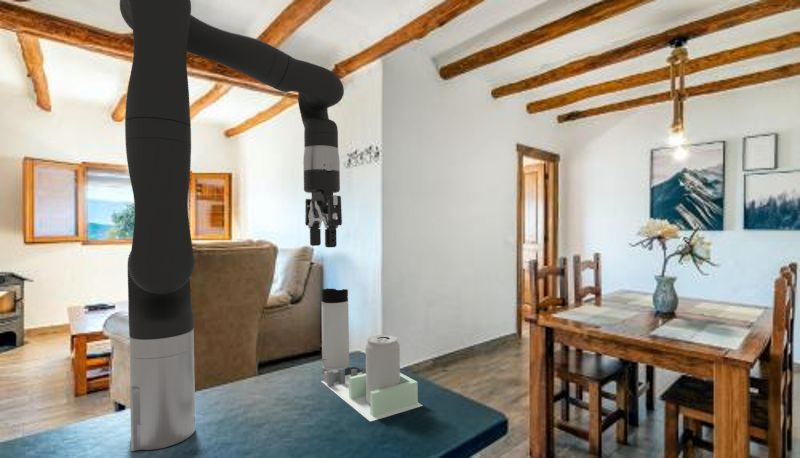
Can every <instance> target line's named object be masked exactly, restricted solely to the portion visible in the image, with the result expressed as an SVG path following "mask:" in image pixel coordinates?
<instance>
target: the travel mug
mask: <svg viewBox="0 0 800 458" xmlns="http://www.w3.org/2000/svg"><path fill="white" fill-rule="evenodd" d="M349 321H350V320H349V289H347V288H342V289H336V288H323V289H321V342H322V343H321V347H322V348H321V356H322V359H321V360H322V362H321V363H322V373H323V372H324V371H329V370H334V369H337V370H339V368H344V369H345V370H347V369H348V370H349V369H350V339H349V338H350V336H349V335H350V332H349V331H350V329H349V328H350V327H349V326H350V325H349Z"/></svg>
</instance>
